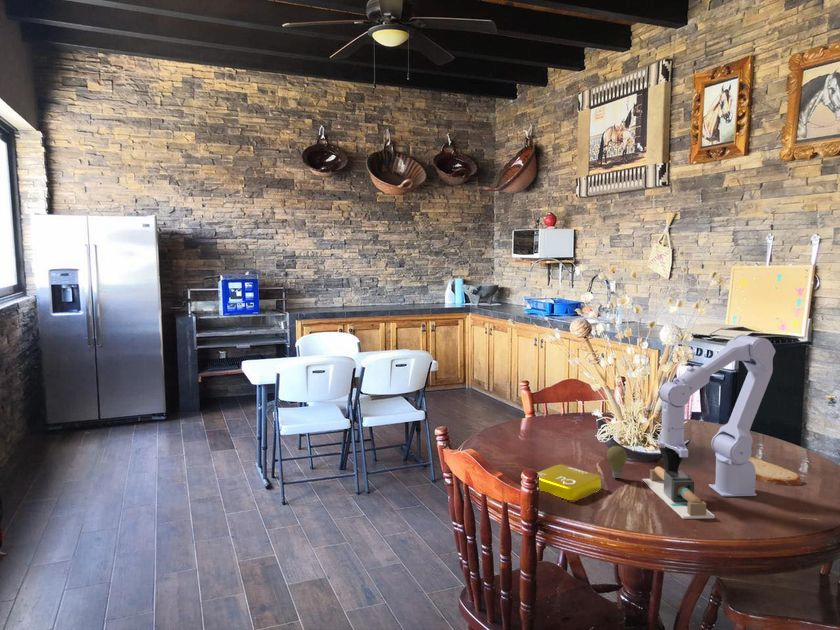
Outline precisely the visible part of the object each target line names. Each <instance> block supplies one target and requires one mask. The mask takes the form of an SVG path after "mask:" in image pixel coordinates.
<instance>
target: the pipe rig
mask: <svg viewBox="0 0 840 630" xmlns="http://www.w3.org/2000/svg"><path fill="white" fill-rule="evenodd" d="M664 471H666V469H664V468H662V467H661V466H656V467H654V469H651V468H650V469H649V478H642V480H643V481H644V482H645V483H646V484H647V485H648V486H647V485H646V484H645V483H644V482H643V481H642V482H643V483H644V484H645V485H646V486H647V487H648V488H650V489H651V491H653V492H654V493H655V494H656V495H657V496H658V497H659V498H660V499H661V500H662V501H664V502H665V504H667V506H669V507H670V508H671V509H672V510H673V511H674V512H675V513H676V514H677V515H679V516H680V518H681V519H683V520H686V519H688V520H689V519H693V520H694V519H695V520H696V519H715V518H716V516H715V515H714V514H713V513H712V512H711V511H710V510H708V509H707V503H706V502H705V501H703V500H701V499H700V498H699V497H698V496H697V494H695V493H694V494H693V493H692V492H691V491H690V490H689V489H688V488H686V487H685V486H678V493H679V494H680V495H681V496H682V497H683V498H684V499H686V500H687V501H688V502H673V501H672V500H671V498H670V497H668V496H667V495H666V494H665V493H664Z"/></svg>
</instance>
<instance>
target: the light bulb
mask: <svg viewBox="0 0 840 630" xmlns="http://www.w3.org/2000/svg"><path fill="white" fill-rule="evenodd" d="M606 457H607V460H608V463H609V464H610V468H611V470H612V477H613V478H614V479H615V478H619V479H620V478H622V471H623V468H624V465H625V464H626V461H627V459H628V456H627V451H626V450H625V449H624V448H623V447H622V446H619V445H613V446H611V447H609V448H608V450H607V453H606Z"/></svg>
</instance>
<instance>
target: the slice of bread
mask: <svg viewBox="0 0 840 630" xmlns="http://www.w3.org/2000/svg"><path fill="white" fill-rule="evenodd" d="M749 461H751V462H752V463H753V465H754V467H755V471H756V480H755V481H758V482H763V483H768V484H773V485H779V486H792V487H793V486H802V485H803V482H802V481H801V477H800V476H799V474H798V473H796V472H794V471H792V470H789V469H787V468H785V467H781V466H779V465H778V464H775V463H770V462H768V461H765V460H761V459H758V458H756V457H753V456H751V457H750V459H749Z"/></svg>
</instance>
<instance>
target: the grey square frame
mask: <svg viewBox="0 0 840 630" xmlns="http://www.w3.org/2000/svg"><path fill="white" fill-rule="evenodd" d="M687 485H688V489H689V490H690V491H691V492H692V493H693V494H694V495H695V481H694V480H693V479H691V480H672V488H671V500H672V501H673V502H688V501H687V500H686V499H684V498H683V497H682V496H677V494H678V486H687Z"/></svg>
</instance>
